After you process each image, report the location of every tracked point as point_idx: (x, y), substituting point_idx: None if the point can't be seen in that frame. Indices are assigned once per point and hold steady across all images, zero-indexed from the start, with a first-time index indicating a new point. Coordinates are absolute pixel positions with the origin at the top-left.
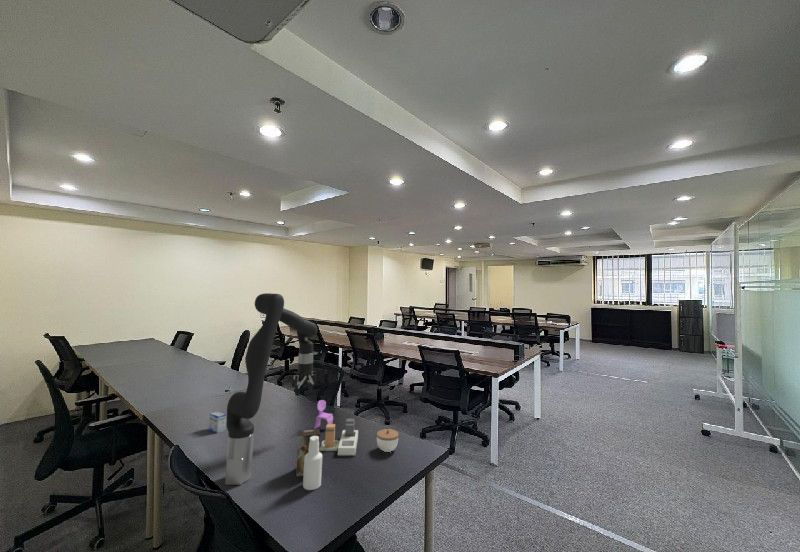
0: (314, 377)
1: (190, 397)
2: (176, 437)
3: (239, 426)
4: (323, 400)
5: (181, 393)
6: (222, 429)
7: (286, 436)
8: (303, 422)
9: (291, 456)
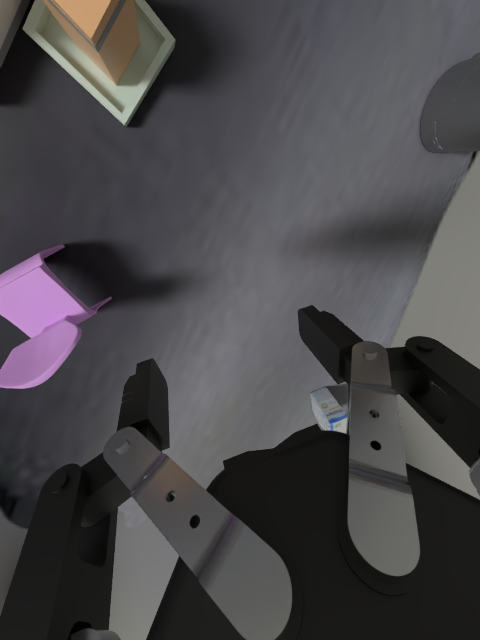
0: (64, 573)
1: None
2: None
3: None
4: (9, 385)
5: None
6: (317, 393)
7: (220, 294)
8: (127, 365)
9: (283, 122)
